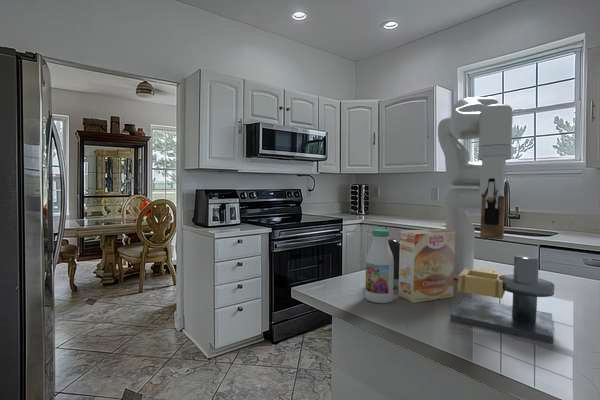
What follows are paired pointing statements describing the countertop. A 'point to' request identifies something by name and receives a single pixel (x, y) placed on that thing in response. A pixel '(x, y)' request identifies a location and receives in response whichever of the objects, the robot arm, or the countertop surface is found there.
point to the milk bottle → (379, 269)
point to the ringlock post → (513, 305)
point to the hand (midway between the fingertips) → (492, 223)
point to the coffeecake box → (426, 264)
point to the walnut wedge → (493, 230)
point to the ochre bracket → (481, 282)
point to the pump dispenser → (395, 260)
